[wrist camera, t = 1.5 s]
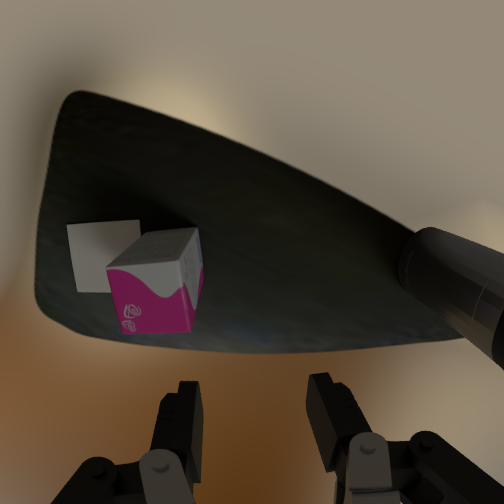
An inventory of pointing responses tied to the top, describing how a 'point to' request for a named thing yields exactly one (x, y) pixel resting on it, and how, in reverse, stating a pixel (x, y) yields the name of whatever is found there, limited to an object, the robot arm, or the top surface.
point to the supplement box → (158, 282)
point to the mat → (98, 250)
